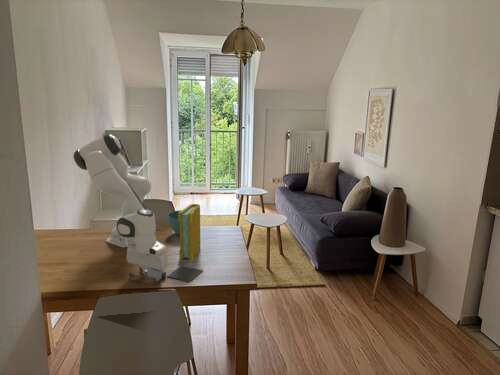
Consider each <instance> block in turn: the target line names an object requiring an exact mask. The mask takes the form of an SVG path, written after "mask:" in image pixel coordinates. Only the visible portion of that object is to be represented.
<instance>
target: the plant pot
mask: <svg viewBox="0 0 500 375" xmlns="http://www.w3.org/2000/svg"><path fill="white" fill-rule="evenodd" d="M180 211H181V209H180V210H179V209H178V210H175V211H171V212H169V213H168V214H167V219H168V223H169V226H170V227H171V229H172V231H173V232H174V233H175V234H176V235H177V236H180V222H179V217H178V212H180Z"/></svg>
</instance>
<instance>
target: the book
mask: <svg viewBox="0 0 500 375" xmlns="http://www.w3.org/2000/svg"><path fill="white" fill-rule="evenodd" d="M180 210H181V209H180ZM178 217H179V222H180V235H179V252H178V254H179V255H178V257H179V260H184V259H185V258H186V259H188V261H193V260H194V258H195V257H196V256H197V254H198V253H199V252H200V251H201V205H200V204H199V203H192V204H189V205H188V206H186V207H185V208H183V209H182V210H181V211H180V212H178Z"/></svg>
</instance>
